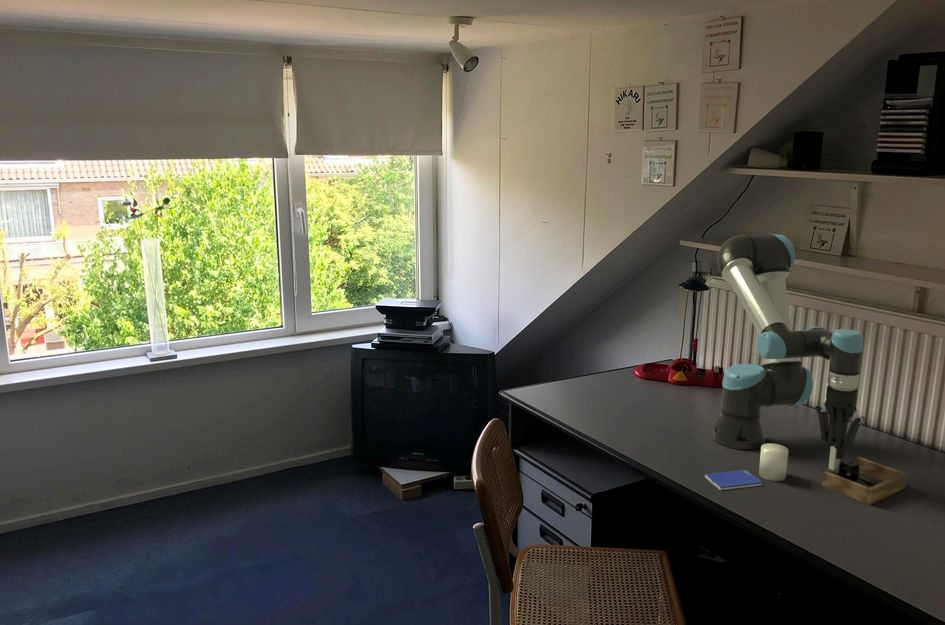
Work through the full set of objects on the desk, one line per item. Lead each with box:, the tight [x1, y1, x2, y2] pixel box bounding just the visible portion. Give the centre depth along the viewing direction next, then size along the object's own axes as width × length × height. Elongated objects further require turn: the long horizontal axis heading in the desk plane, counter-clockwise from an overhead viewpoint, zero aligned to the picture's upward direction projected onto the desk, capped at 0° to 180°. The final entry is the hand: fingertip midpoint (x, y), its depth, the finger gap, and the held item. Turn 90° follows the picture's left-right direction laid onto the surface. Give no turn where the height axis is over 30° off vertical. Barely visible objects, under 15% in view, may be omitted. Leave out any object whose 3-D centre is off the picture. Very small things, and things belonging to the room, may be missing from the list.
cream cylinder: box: [758, 443, 789, 482], centre depth 208 cm, size 7×7×8 cm
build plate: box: [821, 459, 877, 487], centre depth 207 cm, size 12×7×5 cm, turn 22°
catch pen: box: [821, 456, 908, 506], centre depth 201 cm, size 13×17×4 cm
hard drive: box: [704, 469, 763, 491], centre depth 205 cm, size 2×8×12 cm
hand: (833, 468), depth 208 cm, fingers closed
